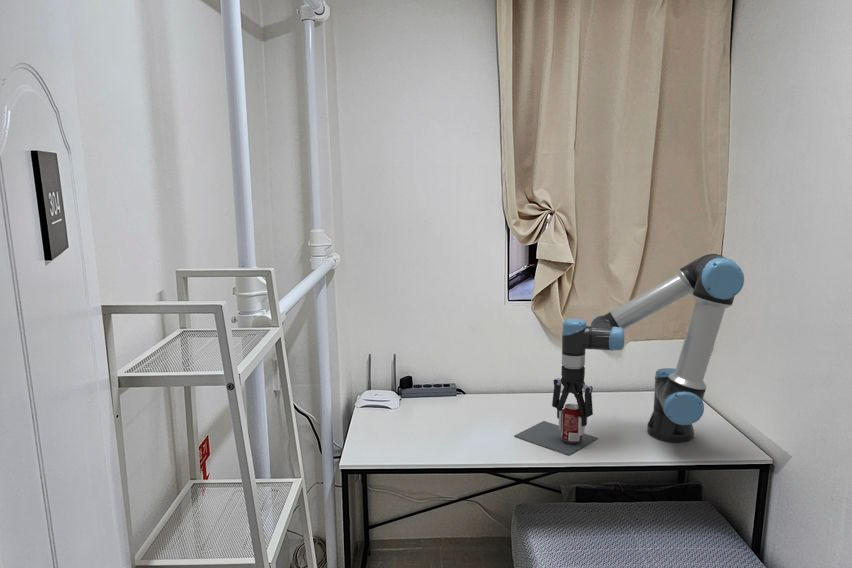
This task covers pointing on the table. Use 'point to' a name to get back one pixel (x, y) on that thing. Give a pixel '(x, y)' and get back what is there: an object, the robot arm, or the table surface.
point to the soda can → (570, 424)
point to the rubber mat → (553, 438)
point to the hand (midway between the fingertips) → (571, 431)
